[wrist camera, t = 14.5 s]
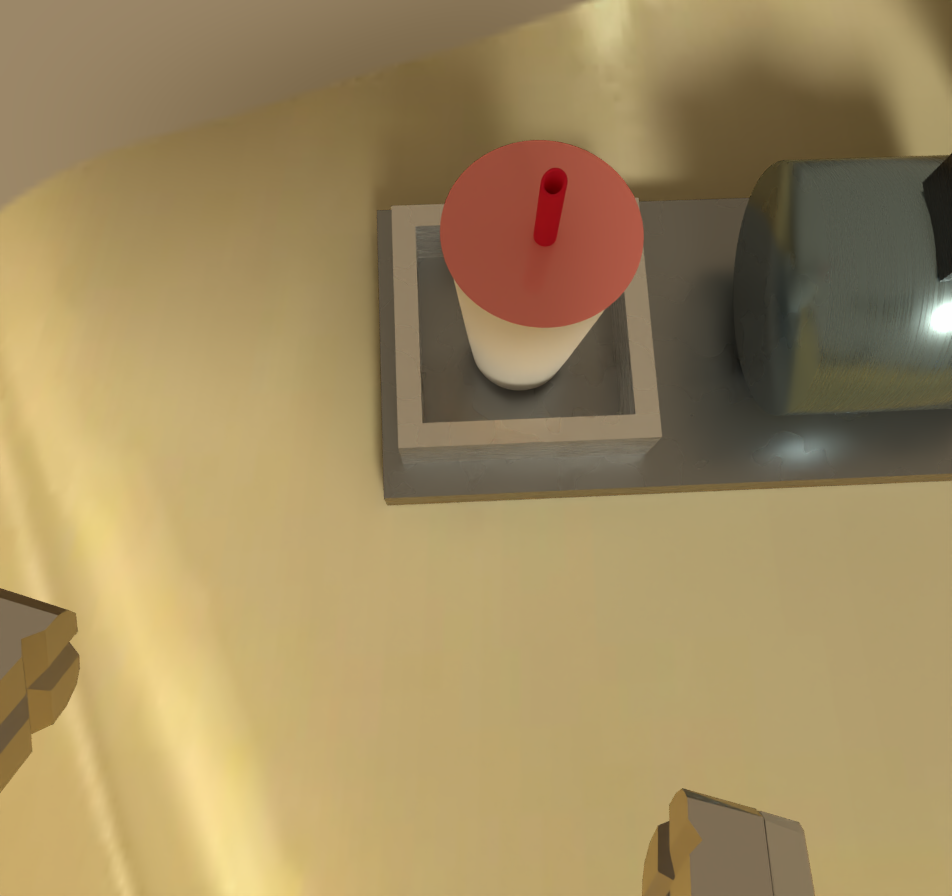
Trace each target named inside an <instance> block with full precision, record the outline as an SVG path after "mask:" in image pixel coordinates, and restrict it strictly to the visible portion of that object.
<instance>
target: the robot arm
mask: <svg viewBox="0 0 952 896" xmlns="http://www.w3.org/2000/svg"><path fill="white" fill-rule="evenodd" d="M77 632H78V628H77V619H76V613H74V612H72V611H69V610H66V609H63V608H60V607H57V606H54V605H51V604H48V603H45V602H42V601H38V600H35V599H32V598H29V597H26V596H23V595H20V594H17V593H14V592H10V591H7V590H4V589H1V588H0V793H1V791H2V790H3V789H4V787H5V786H6V785H7V784H8V782H9V781H10V780H11V778H12V777H13V776H14V775H15V773H16V772H17V771H18V769H19V768H20V767H21V765H22V764H23V763H24V762H25V760H26V759H27V758H28V756H29V755H30V754H31V752H32V736H31V734H33V733H35V732H37V731H39V730H41V729H44V728H46V727H48V726H50V725H52V724H54V722H55V721H56V720H57V718H58V717H59V716H60V714H61V713H62V711H63V710H64V709H65V707H66V706H67V704H68V702H69V700H70V697H71V695H72V693H73V691H74V689H75V687H76V685H77V680H78V675H79V670H80V660H79V654H78V653H77V651H76V650H75V649H74V647H73V646H72V645H71V643H70V642H69V641H70V640H71V639H72V638H73V636H74V635H75V634H76V633H77ZM642 896H815V891H814V886H813V880H812V874H811V869H810V863H809V857H808V851H807V846H806V840H805V834H804V830H803V828H802V827H801V825H800V823H799V822H796V821H793V820H790V819H786V818H783V817H779V816H776V815H773V814H769V813H766V812H762V811H757V810H756V809H755V808H751V807H748V806H744V805H740V804H737V803H733V802H730V801H726V800H722V799H719V798H715V797H712V796H708V795H704V794H701V793H697V792H694V791H690V790H686V789H683V788H682V789H681V790H679V791H678V792H676V794H675V796H674V797H673V799H672V801H671V803H670V804H669V821H668V822H665V823H663V824H660V825H658V826H657V828H656V830H655V832H654V835H653V837H652V839H651V841H650V843H649V847H648V851H647V855H646V858H645V862H644V871H643V879H642Z"/></svg>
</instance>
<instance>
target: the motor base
mask: <svg viewBox="0 0 952 896" xmlns="http://www.w3.org/2000/svg"><path fill="white" fill-rule="evenodd" d="M635 200H636V202H637V204H638V207H639V210H640V213H641V217H642V222H643V230H644V243H643V251H642V256H641V260H640V263H639V266H638V269H637V271H636V273H635V275H634V277H633V279H632V281H631V282H630V284H629V285H628V287H627V288H626V290H625V291H624V292H623V293H622V294H621V296H620V297H619V298H618V299H617V300H616V301H615V302H613V303H612V304H611V305H610V306H609V307H607V308H606V309H605V310H604V311H603V313H602V314H601V316H600V317H599V318H598V320H597V321H596V322H595V324H594V325H593V326H592V328H591V329H590V330H589V332H588V333H587V334H586V335H585V337H584V338H583V339H582V341H581V342H580V343H579V345H578V346H577V347H576V349H575V350H574V351H573V353H572V354H571V355H570V357H569V358H568V359H567V360H566V362H565V363H564V364H563V365H562V366H561V368H560V369H559V370H558V371H557V373H556V374H555V375H554V376H553V377H552V378H551V379H550V380H549V381H547V382H546V383H544V384H543V385H541V386H539V387H536V388H533V389H529V390H510V389H506V388H502V387H500V386H498V385H496V384H494V383H493V382H491V381H490V380H488V379H487V378H486V377H485V376H484V375H483V374H482V372H481V371H480V370H479V368H478V367H477V365H476V363H475V360H474V357H473V353H472V350H471V346H470V343H469V340H468V336H467V332H466V328H465V324H464V320H463V316H462V311H461V307H460V303H459V299H458V295H457V291H456V287H455V283H454V278H453V277H452V275H451V273H450V271H449V269H448V267H447V265H446V262H445V259H444V256H443V252H442V248H441V241H440V222H441V215H442V211H443V207H444V204H428V205H398V206H391V209H392V210H377V231H378V272H379V313H380V354H381V396H382V437H383V478H384V499H385V501H386V503H387V505H405V504H428V503H451V502H473V501H496V500H519V499H541V498H564V497H587V496H610V495H632V494H655V493H678V492H701V491H723V490H746V489H769V488H792V487H814V486H837V485H860V484H882V483H905V482H928V481H951V480H952V154H951V155H937V156H906V157H875V158H844V159H813V160H783V161H779V162H776V163H775V164H773V165H771V166H770V167H769V168H768V169H767V170H766V171H765V172H764V173H763V175H762V176H761V177H760V179H759V180H758V182H757V184H756V186H755V187H754V189H753V192H752V194H751V196H750V198H733V199H703V200H673V201H643V202H639V198H635Z"/></svg>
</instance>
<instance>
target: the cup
mask: <svg viewBox="0 0 952 896" xmlns="http://www.w3.org/2000/svg"><path fill="white" fill-rule="evenodd" d="M440 241H441V248H442V252H443V256H444V259H445V262H446V265H447V267H448V269H449V271H450V273H451V275H452V277H453V278H454V283H455V287H456V291H457V295H458V299H459V303H460V307H461V311H462V316H463V320H464V324H465V328H466V332H467V336H468V340H469V343H470V346H471V350H472V353H473V357H474V360H475V363H476V365H477V367H478V368H479V370H480V371H481V372H482V374H483V375H484V376H485V377H486V378H487V379H488V380H490V381H491V382H493V383H494V384H496V385H498V386H500V387H502V388H506V389H510V390H529V389H533V388H536V387H539V386H541V385H543V384H544V383H546V382H547V381H549V380H550V379H551V378H552V377H553V376H554V375H555V374H556V373H557V371H558V370H559V369H560V368H561V366H562V365H563V364H564V363H565V362H566V360H567V359H568V358H569V357H570V355H571V354H572V353H573V351H574V350H575V349H576V347H577V346H578V345H579V343H580V342H581V341H582V339H583V338H584V337H585V335H586V334H587V333H588V332H589V330H590V329H591V328H592V326H593V325H594V324H595V322H596V321H597V320H598V318H599V317H600V316H601V314H602V313H603V311H604V310H605V309H606V308H607V307H609V306H610V305H611V304H612V303H613V302H615V301H616V300H617V299H618V298H619V297H620V296H621V294H622V293H623V292H624V291H625V290H626V288H627V287H628V285H629V284H630V282H631V281H632V279H633V277H634V275H635V273H636V271H637V269H638V266H639V263H640V260H641V256H642V251H643V243H644V230H643V222H642V217H641V213H640V210H639V207H638V204H637V202H636V200H635V197H634V195H633V194H632V192H631V190H630V188H629V187H628V185H627V184H626V183H625V181H624V180H623V179H622V178H621V176H620V175H619V174H618V173H617V172H616V171H615V170H614V169H613V168H612V167H611V166H609V165H608V164H607V163H606V162H604V161H603V160H601V159H600V158H598V157H597V156H595V155H593V154H592V153H590V152H588V151H586V150H584V149H581V148H579V147H576V146H573V145H570V144H566V143H562V142H556V141H547V140H531V141H522V142H517V143H512V144H509V145H505V146H502V147H500V148H497V149H495V150H493V151H491V152H489V153H487V154H485V155H484V156H482V157H481V158H479V159H478V160H476V161H475V162H474V163H473V164H471V165H470V166H469V167H468V168H467V169H466V170H465V171H464V172H463V173H462V174H461V175H460V177H459V178H458V179H457V181H456V182H455V183H454V185H453V187H452V188H451V190H450V192H449V194H448V196H447V199H446V201H445V204H444V207H443V211H442V215H441V222H440Z"/></svg>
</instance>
